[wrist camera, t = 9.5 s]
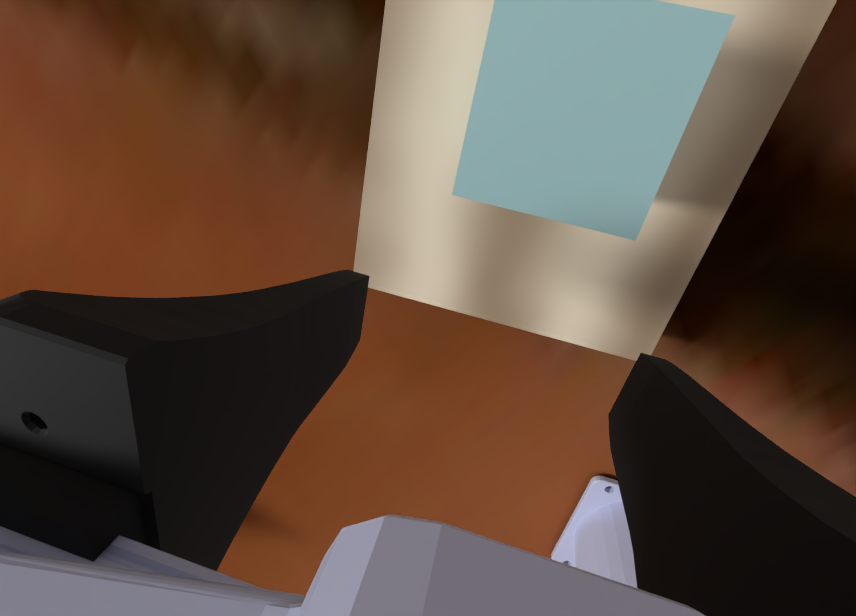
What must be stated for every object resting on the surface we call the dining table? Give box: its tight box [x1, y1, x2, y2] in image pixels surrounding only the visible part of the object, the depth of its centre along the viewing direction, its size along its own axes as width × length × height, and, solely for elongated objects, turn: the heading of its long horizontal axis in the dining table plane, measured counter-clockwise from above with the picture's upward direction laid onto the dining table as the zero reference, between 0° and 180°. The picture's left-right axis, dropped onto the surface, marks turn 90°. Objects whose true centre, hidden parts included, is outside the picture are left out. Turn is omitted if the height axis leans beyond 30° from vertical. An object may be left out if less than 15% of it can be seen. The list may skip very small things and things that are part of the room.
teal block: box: [452, 0, 735, 241], centre depth 12 cm, size 4×4×6 cm
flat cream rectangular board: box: [354, 0, 837, 361], centre depth 16 cm, size 13×17×3 cm
